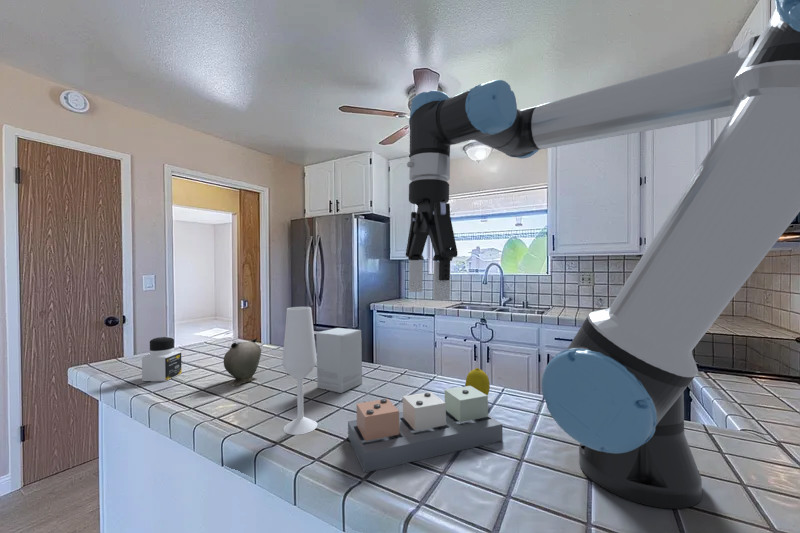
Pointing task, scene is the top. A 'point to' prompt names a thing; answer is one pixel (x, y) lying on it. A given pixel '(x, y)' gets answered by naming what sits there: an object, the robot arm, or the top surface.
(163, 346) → the medicine bottle
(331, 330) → the supplement box
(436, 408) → the tile two
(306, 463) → the top surface
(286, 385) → the top surface
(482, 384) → the lemon
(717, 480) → the top surface
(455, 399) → the tile one
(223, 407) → the top surface
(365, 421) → the tile three
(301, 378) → the champagne flute
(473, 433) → the console
